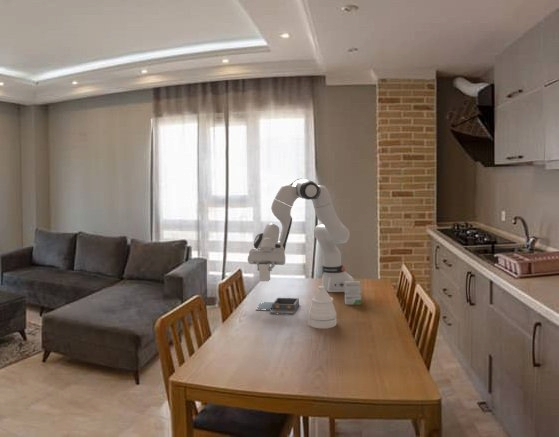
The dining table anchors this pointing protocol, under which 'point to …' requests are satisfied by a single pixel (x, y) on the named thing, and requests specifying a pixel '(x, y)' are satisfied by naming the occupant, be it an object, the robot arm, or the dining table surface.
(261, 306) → the mat
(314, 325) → the honey pot
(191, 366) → the dining table surface
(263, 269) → the block
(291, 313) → the equipment case
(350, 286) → the ink box
